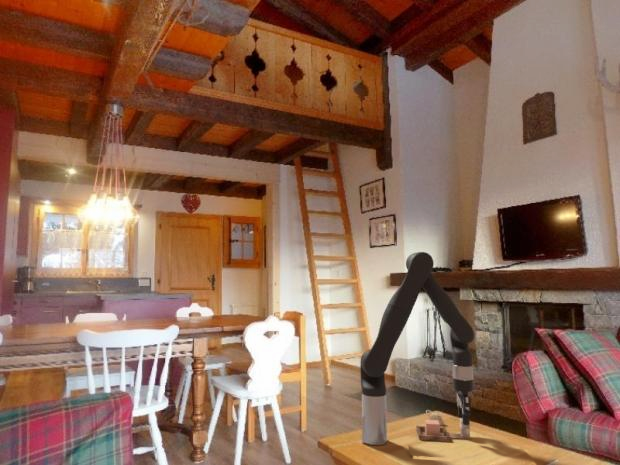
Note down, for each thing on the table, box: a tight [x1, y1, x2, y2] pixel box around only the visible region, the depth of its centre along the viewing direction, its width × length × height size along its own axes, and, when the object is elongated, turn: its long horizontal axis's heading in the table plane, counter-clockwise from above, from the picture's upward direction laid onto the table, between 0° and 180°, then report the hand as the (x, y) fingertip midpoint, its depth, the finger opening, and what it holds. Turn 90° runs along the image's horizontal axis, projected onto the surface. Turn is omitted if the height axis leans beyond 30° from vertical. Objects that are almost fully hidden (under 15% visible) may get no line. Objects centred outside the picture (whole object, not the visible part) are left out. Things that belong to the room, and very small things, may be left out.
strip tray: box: [415, 418, 472, 443], centre depth 166 cm, size 19×11×7 cm, turn 82°
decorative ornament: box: [425, 409, 445, 426], centre depth 181 cm, size 4×8×5 cm, turn 26°
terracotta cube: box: [424, 419, 441, 436], centre depth 166 cm, size 5×5×5 cm
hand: (463, 421), depth 165 cm, fingers open, 8 cm apart
